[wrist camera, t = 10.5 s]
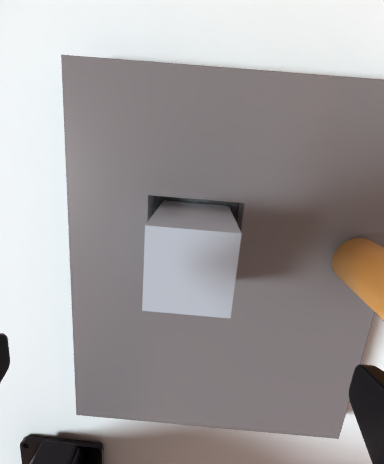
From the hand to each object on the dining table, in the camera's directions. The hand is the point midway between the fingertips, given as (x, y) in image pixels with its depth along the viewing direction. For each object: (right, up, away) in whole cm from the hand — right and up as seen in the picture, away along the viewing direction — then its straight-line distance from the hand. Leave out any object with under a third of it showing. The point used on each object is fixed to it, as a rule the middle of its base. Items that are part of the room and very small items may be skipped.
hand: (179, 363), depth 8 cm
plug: (0, +3, +11) cm, 11 cm away
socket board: (+2, +1, +11) cm, 12 cm away
